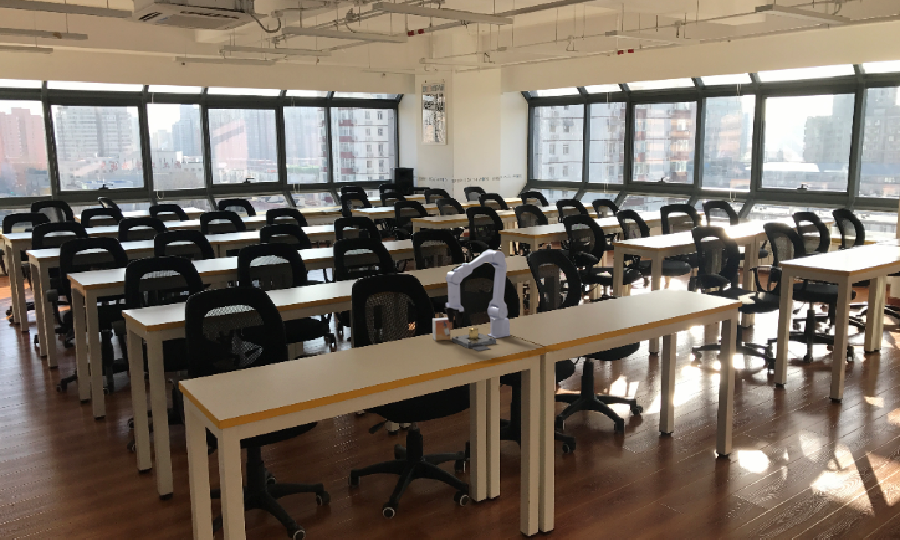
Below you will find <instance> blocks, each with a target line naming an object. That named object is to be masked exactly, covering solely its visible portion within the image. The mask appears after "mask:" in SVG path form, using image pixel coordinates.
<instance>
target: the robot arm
mask: <svg viewBox="0 0 900 540" xmlns="http://www.w3.org/2000/svg"><path fill="white" fill-rule="evenodd" d="M485 263H489V264H491V265H492V266H493V267H494V269H495V273H494V281H493V293H492V299H491V300H490V301H489V305H488V308H487V315H488V316H489V319H490V333H487V334H486V336H488V337H491V338H494V339H498V338H505V337H510V336H512V335H511V333H510V332H511V329H510V328H511V325H510V324H511V322H510V319H509V318H508V317H507V316H508V308H507V304H506V302H505V298H504V297H505V289H506V278H507V268H508V265H507V262H506V255H505V253H503V251H501V250H493V249H490V248H489V249H486V250H485V251H483V252H482V253H481V254H480V255H479V256H477V257H476V258H474V259H473V260H472V261H470V262H469V263H466V262H465V263H461V265H460V266H459V267H457V268H454V269H453V270H451V271H448V272H447V273H446V276H445V281H446V283H447V291H448V293H447V294H448V295H447V296H448V297H447V298H448V302H445V307H444V308H443V310H444V311H445V313H446V316H447V317H448V320H449V322H450V323H453V322H455V324H456V326H461V325H462V322H463V317H464V316H465V314H466V311H465V308H464V306H462V305H461V285H460V284H461V282H462V281H463V279H465V278H466V277H467V276H469V275H471V274H472V273H473V270H474V269H476V268H477V267H480V266H481V265H483V264H485ZM454 319H455V321H454Z"/></svg>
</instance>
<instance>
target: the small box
mask: <svg viewBox="0 0 900 540" xmlns="http://www.w3.org/2000/svg"><path fill="white" fill-rule="evenodd" d="M432 339H433V340H434V341H435V342H436V341H437V342H438V341H450V340H452V336H451V322H449V320H448V316H447V317H446V316H445V317H437V318H434V317H433V318H432Z"/></svg>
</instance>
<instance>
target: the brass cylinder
mask: <svg viewBox="0 0 900 540" xmlns="http://www.w3.org/2000/svg"><path fill="white" fill-rule="evenodd" d="M478 333H479V328H478V327H474V326H472V327H469V328H468V335H469V340H471V341H472V340H478Z"/></svg>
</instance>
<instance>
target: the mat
mask: <svg viewBox="0 0 900 540" xmlns="http://www.w3.org/2000/svg"><path fill="white" fill-rule="evenodd" d="M469 349H472V350H474V351H476V352H483V351H488V350H492V348H491V347H488V346H487V345H485V346H483V345H482V346H476V347H470V348H469Z"/></svg>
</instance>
